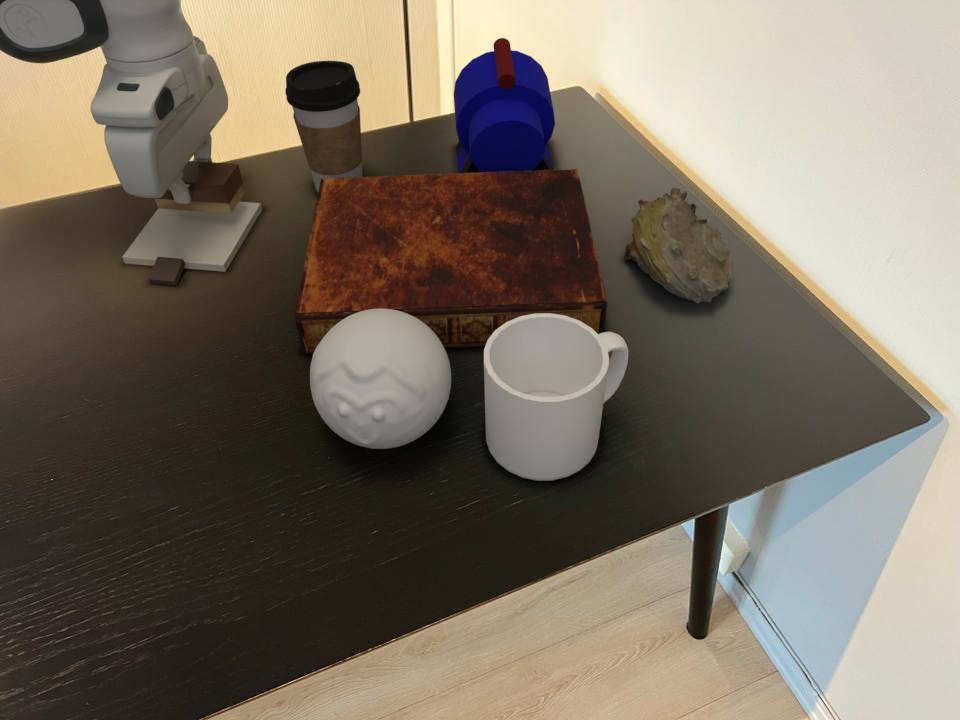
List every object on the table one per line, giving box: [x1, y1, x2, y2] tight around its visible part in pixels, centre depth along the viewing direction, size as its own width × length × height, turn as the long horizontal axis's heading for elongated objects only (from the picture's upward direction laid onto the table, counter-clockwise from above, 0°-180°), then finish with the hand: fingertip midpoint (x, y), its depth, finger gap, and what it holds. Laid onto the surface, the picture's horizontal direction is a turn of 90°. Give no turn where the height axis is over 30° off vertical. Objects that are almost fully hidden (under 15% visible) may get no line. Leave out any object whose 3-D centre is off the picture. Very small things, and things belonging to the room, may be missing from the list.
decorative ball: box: [309, 309, 452, 450], centre depth 68 cm, size 12×12×12 cm
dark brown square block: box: [148, 257, 185, 286], centre depth 87 cm, size 3×3×1 cm
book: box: [293, 168, 608, 355], centre depth 85 cm, size 30×24×5 cm
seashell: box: [623, 187, 733, 305], centre depth 83 cm, size 11×14×10 cm
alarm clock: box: [453, 37, 556, 173], centre depth 97 cm, size 12×12×15 cm
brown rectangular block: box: [151, 160, 244, 214], centre depth 91 cm, size 9×4×4 cm, turn 81°
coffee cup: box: [285, 60, 364, 194], centre depth 94 cm, size 8×8×15 cm
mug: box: [483, 313, 629, 482], centre depth 67 cm, size 13×10×10 cm
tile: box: [121, 201, 263, 273], centre depth 92 cm, size 12×12×1 cm
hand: (195, 186), depth 91 cm, fingers closed on brown rectangular block, 4 cm apart
